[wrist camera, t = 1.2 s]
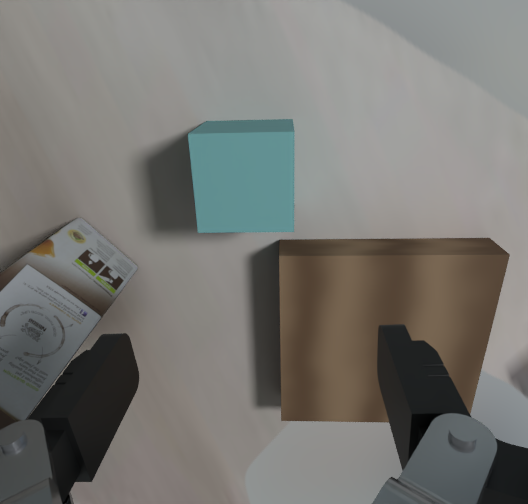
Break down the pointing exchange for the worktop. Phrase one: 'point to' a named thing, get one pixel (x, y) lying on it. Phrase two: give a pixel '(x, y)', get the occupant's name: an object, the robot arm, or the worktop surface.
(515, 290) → the worktop surface
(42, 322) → the coffee box
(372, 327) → the walnut stand
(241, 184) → the teal cube
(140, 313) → the worktop surface
